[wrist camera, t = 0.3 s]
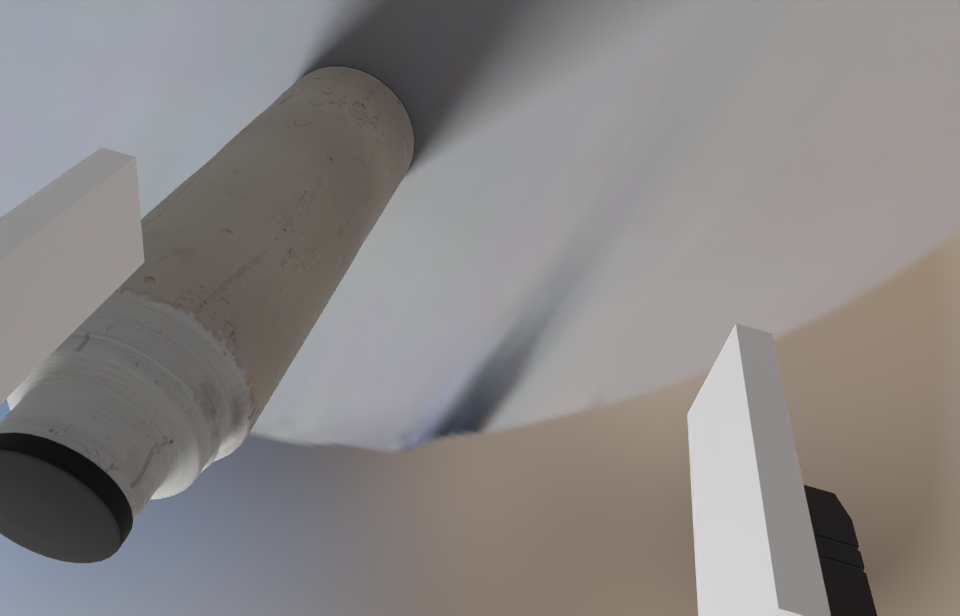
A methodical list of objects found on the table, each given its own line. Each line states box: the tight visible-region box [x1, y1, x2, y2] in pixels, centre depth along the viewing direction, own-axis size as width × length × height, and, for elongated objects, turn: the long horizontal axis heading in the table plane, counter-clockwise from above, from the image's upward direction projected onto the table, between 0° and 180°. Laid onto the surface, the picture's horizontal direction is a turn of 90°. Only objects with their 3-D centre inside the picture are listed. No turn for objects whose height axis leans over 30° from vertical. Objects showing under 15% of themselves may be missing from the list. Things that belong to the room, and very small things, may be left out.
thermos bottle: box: [0, 67, 414, 563], centre depth 33 cm, size 8×8×28 cm
